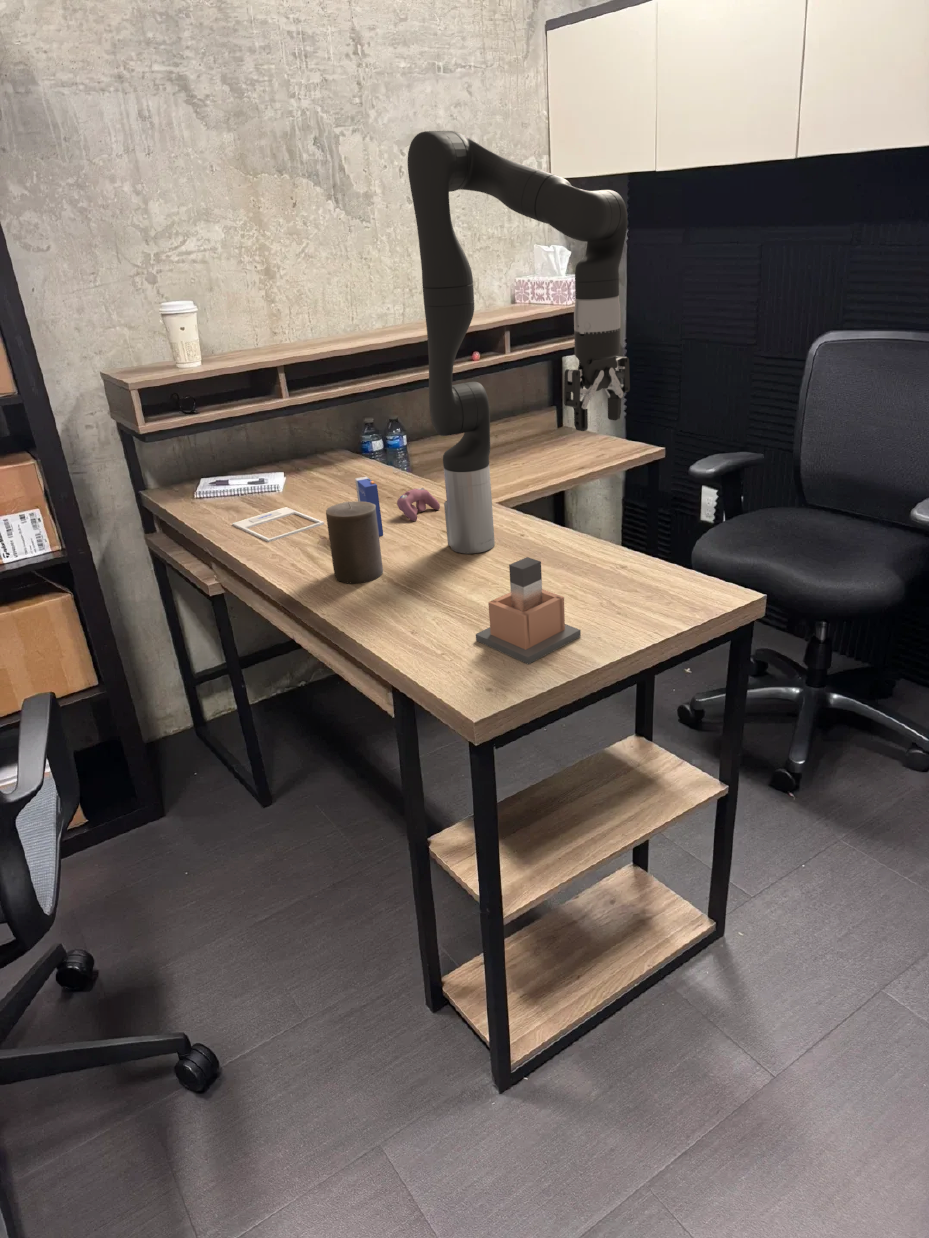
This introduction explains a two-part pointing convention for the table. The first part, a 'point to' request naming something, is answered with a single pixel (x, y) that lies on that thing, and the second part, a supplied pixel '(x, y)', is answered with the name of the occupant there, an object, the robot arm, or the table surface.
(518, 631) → the box
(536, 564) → the grey block
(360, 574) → the pillar candle
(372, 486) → the walkman
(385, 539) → the table surface
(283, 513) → the photo frame
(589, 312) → the robot arm
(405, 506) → the video game controller
